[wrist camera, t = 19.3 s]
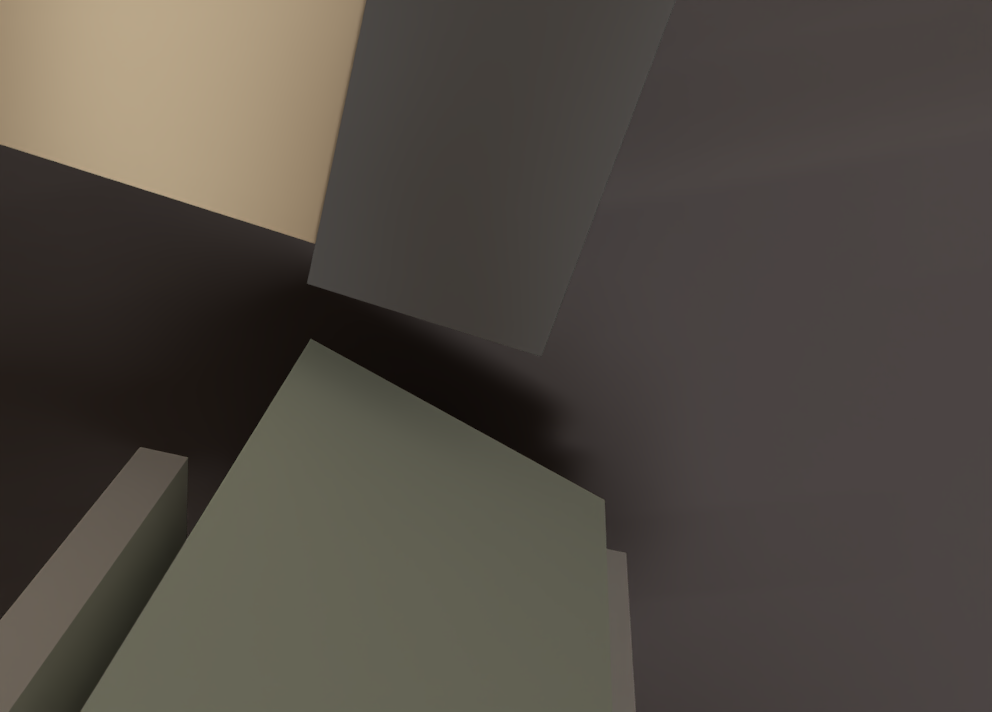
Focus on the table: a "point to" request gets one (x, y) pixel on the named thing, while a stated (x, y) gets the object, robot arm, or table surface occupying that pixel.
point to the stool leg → (354, 131)
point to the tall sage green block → (375, 570)
